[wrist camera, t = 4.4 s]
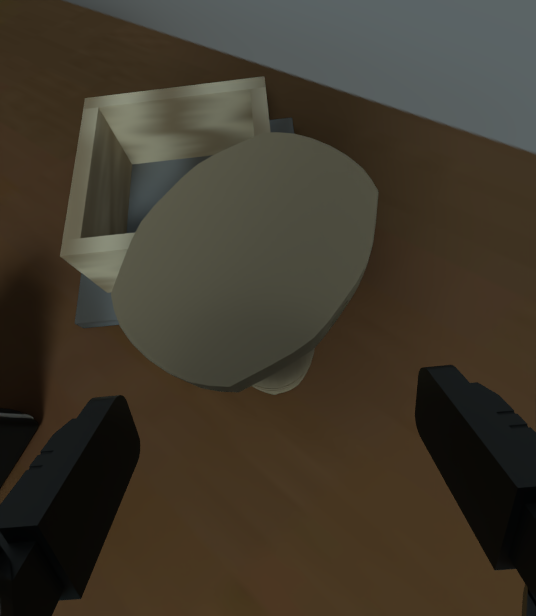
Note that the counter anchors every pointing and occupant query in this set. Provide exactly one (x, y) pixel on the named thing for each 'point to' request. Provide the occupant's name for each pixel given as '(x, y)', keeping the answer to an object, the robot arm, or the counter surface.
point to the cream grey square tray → (145, 169)
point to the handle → (248, 263)
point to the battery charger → (13, 438)
